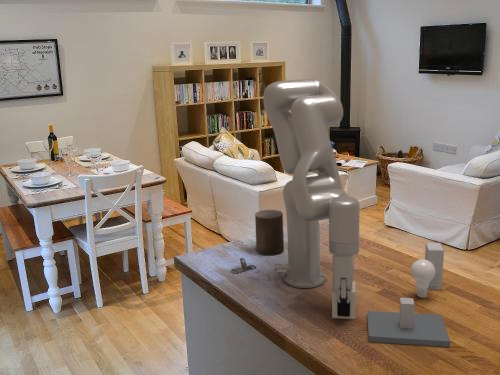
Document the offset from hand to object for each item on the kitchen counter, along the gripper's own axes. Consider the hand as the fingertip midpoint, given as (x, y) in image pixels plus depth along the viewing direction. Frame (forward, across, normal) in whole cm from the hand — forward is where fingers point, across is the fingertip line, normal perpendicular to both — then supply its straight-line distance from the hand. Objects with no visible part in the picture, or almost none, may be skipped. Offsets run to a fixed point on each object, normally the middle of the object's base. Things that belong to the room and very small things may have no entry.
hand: (343, 308), depth 130 cm
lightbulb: (+1, -11, +21) cm, 24 cm away
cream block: (+1, 0, 0) cm, 1 cm away
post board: (+1, +7, +15) cm, 17 cm away
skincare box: (+1, -19, +25) cm, 31 cm away
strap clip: (+2, -24, -32) cm, 40 cm away
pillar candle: (+1, -41, -26) cm, 49 cm away
